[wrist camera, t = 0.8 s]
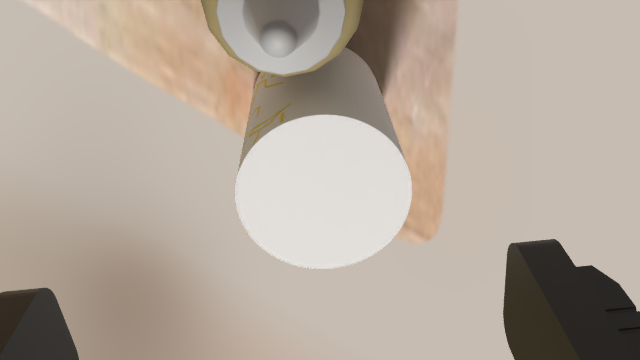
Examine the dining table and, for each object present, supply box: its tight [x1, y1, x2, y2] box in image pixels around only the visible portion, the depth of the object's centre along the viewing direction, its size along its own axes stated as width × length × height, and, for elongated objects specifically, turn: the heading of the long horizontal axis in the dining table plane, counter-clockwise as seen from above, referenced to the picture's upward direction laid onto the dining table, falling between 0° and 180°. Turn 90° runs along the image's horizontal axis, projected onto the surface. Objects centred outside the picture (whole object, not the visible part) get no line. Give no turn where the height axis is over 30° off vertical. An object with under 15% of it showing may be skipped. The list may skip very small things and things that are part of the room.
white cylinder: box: [235, 47, 412, 269], centre depth 33 cm, size 8×8×12 cm
